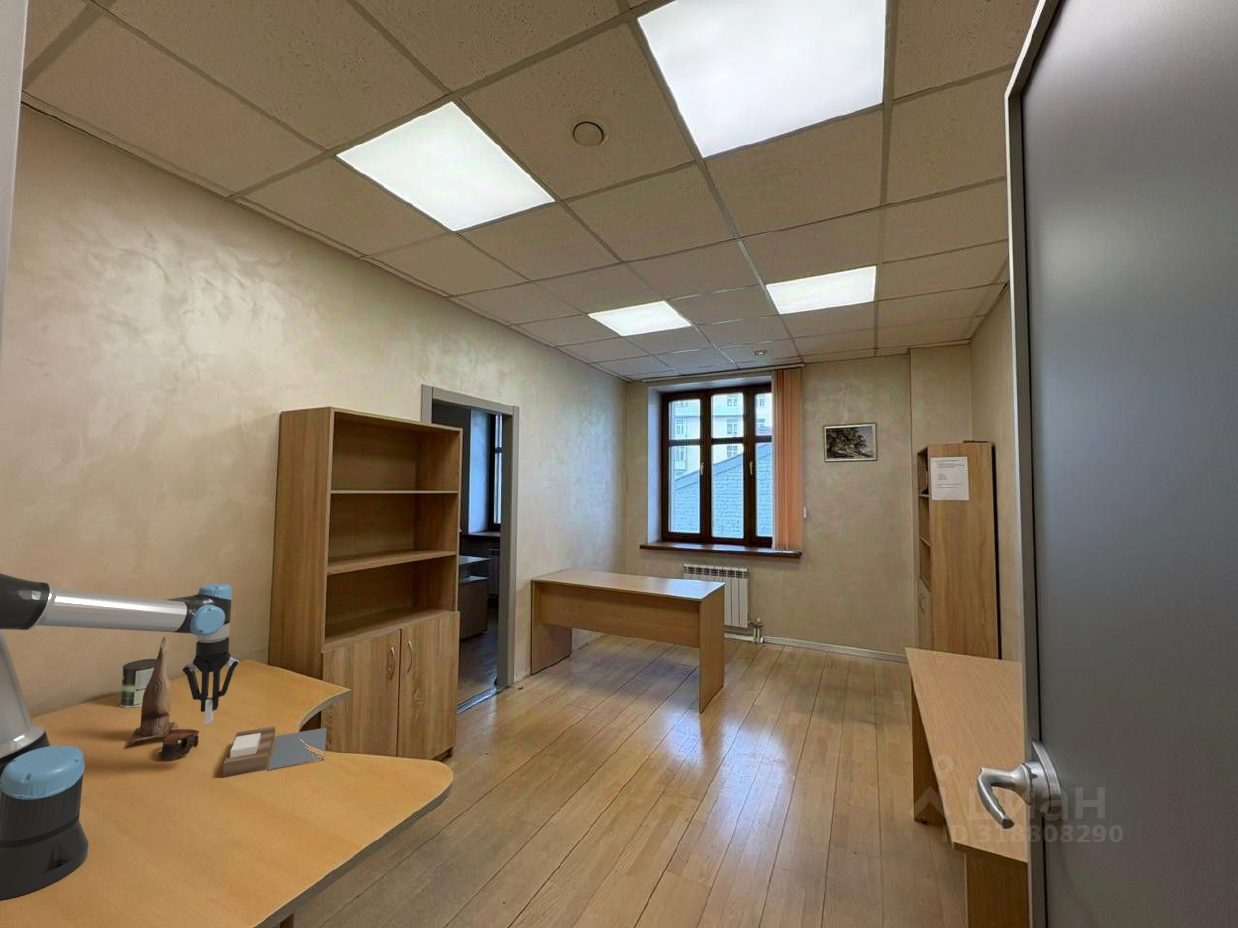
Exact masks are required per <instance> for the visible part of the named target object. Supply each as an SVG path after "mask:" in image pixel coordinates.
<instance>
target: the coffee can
mask: <svg viewBox="0 0 1238 928" xmlns="http://www.w3.org/2000/svg"><path fill="white" fill-rule="evenodd" d="M156 660H157V658H145V659H139V660H134V661H131V662H128V663H125V664H123V666H122V680H121V692H120V693H121V694H120V704H119V705H120V708H123V709H124V708H125V709H130V708H131V709H133V708H139V707H140V708H141V707H142V700H143V694H144V691H145V689H146V687H147V685H148V683H149V681H150V679H151V676H152V673H153V670H154V667H155V663H156Z"/></svg>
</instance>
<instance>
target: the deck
mask: <svg viewBox="0 0 1238 928" xmlns="http://www.w3.org/2000/svg"><path fill="white" fill-rule="evenodd" d="M257 733H261V738H260V742H259V745H258V748H257V751H256V753H255V754H250V755H244V756H238V757H233V758H230V752H231V749H232V746H233V744H234V742H235V739H236V737H239V736H245V735H251V734H257ZM275 741H276V725H274V726H268V727H262V728H256V729H248V730H242V731H237V732H236V735H235V737H234V739H233V741H232V743H231V745H230V748H229V751H228V752H227V755H226V758H225V760H224V762H223V772H222V778H228V777H234V776H238V775H239V776H240V775H244V774H250V773H255V772H259V771H261V772H262V771H265V770H267V769H268V766H269V762H270V759H271V755H272V751H273V748H274V744H275Z"/></svg>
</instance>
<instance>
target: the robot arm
mask: <svg viewBox="0 0 1238 928" xmlns="http://www.w3.org/2000/svg"><path fill="white" fill-rule="evenodd" d="M232 593H233V592H232V586H231V585H230V584H227V583H210V584H206V585H202V586H200V587H199V589H198V594H193V595H188V596H181V597H175V598H174V597H173V598H169V599H158V598H148V597H140V596H139V597H138V596H131V595H130V596H129V595H121V594H120V595H119V594H111V593H110V594H109V593H100V592H89V591H80V590H68V589H59V588H53V587H52V585H51V584H50V583H48V582H42V581H40V582H39V581H34V580H27V579H23V578H18V577H15V576H11V575H7V574H4V573H1V572H0V900H6V899H11V898H16V897H19V896H24V895H26V894H29V893H33V892H35V891H38V890H40V889H43V888H45V887H47V886H49V885H51V884H52V885H53V884H54V883H56V882H58V881H60V880H61V879H63V878H65V877H67V876H68V875H70V874H71V873H73V872H74V871H75V870H76V869H78V868H79V867H81V865H82V864H83V863H84V862H85V861H86V860H87V857H88V853H89V841H88V838H87V836H86V833H85V832H84V831H85V830H84V828H83V827H82V824H81V822H80V813H81V812H80V811H81V802H82V791H83V782H84V781H83V779H84V772H85V769H86V768H85V764H86V763H85V761H84V753H83V751H82V750H81V749H80V748H78V747H76V746H73V745H62V746H61V745H60V744H59V745H57V744H56V745H51V744H50V741H49V738H48V735H47V732H46V728H45V727H44V726H43V725H40V724H39V725H38V724H33V722H32V719H31V717H30V713H29V711H28V706H27V704H26V703H27V702H26V701H25V697H24V694H23V691H22V687H21V683H20V681H19V678H18V674H17V672H16V669H15V668H16V667H15V665H14V662H13V659H12V655H11V651H10V649H9V645H8V643H7V638H6V636H5V633H4V630H18V631H29V630H31V629H33V628H35V627H37V626H42V627H45V626H46V627H59V628H60V627H62V628H63V627H64V628H79V629H80V628H82V629H84V628H85V629H103V630H121V631H124V630H125V631H139V632H140V631H142V632H161V633H164V632H165V633H174V634H175V633H176V634H189V635H190V634H192V635H195V636H196V640H197V641H196V643H195V644H196V645H195V656H194V658H193V660H192V662H191V663H189V664H186V665H185V666H184V667H183V668H182V672H183V673H184V674H185V675H186V676H187V677H186V678H187V681H188V685H189V689H190V693H191V697H192V700H193V701H197V700H198V701H200V712H201V713H204V725H209V724H212V722H213V721H214V711H216V710H218V707H219V701H220V699H219V698H221V697H224V696H225V695H226V694H227V691H228V690H229V689H228V688H229V686H230V683H231V679H232V678H233V677H232V676H233V674H234V671H235V668H237V666H238V664H239V663H240V659H238V658H236V659H235V658H233V657H231V654H230V652H229V651H230V650H229V649H230V637H229V636H230V634H231V633H230V632H231V631H230V630H231V613H232V612H231V611H232V601H233V598H232V597H233V595H232ZM227 663H228V665H227V666H228V667H229V668H228V670H227V673H226V676H225V677H224V678H225V679H224V682H223V685H222V687H221V686H220V685H221V670H222V669H223V668H224V666H225V665H226V664H227ZM196 668H197V669H198V670H199V672H201V687H199V683H198V679H197V677H196V672H195V670H196ZM210 673H212V696H210V697H209V687H210V685H209V684H210ZM220 687H221V688H220ZM200 688H201V689H200ZM220 689H221V690H220ZM200 690H201V691H200Z"/></svg>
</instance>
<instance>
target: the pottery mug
mask: <svg viewBox="0 0 1238 928" xmlns="http://www.w3.org/2000/svg"><path fill="white" fill-rule="evenodd" d="M199 733H200V731H199V730H196V729H190V728H178V729H175V730H170V731H169V734H168V735H167V736H163V738H162V739H161V742H162V743H163V744H162V745H161V751H158V752H157V756H156V760H157V761H176V760H177V759H178V756H179V755H180V756H186V755H188V754H189V753H190V751H191V750H192V748H193V747H194V748H196V747H198V744H199ZM179 741H180V742H179Z"/></svg>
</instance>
